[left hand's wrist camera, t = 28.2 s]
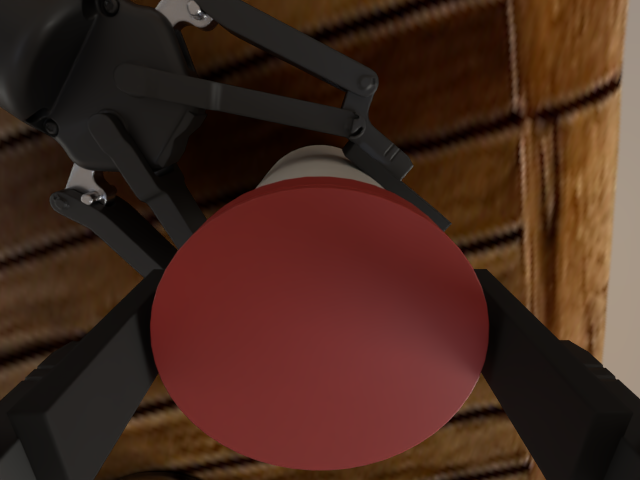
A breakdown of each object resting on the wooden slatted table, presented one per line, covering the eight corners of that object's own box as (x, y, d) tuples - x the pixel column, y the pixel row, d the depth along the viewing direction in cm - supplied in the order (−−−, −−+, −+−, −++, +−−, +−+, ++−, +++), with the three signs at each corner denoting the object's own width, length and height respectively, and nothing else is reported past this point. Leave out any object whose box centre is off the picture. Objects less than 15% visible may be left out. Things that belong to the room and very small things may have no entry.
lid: (516, 354, 13) (542, 388, 11) (287, 466, 15) (283, 507, 13) (368, 103, 10) (377, 102, 8) (107, 287, 12) (75, 314, 10)
